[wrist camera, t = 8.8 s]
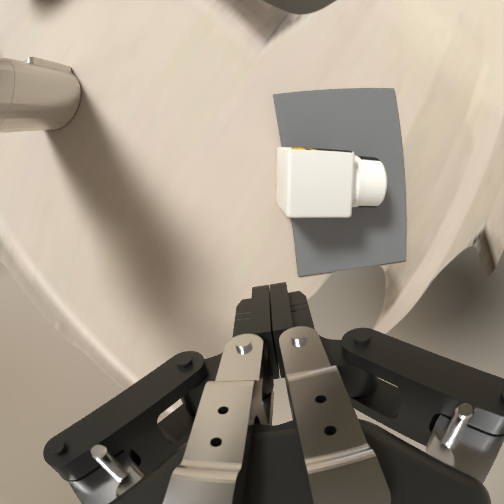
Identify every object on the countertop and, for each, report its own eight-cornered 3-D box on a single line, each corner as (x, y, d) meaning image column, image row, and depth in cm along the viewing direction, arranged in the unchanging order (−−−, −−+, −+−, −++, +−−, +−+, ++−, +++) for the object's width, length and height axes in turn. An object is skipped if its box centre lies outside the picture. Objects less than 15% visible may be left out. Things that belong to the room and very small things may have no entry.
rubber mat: (273, 94, 33) (273, 94, 33) (393, 88, 32) (394, 88, 31) (298, 275, 41) (298, 276, 41) (404, 259, 40) (405, 260, 39)
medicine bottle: (276, 146, 34) (367, 151, 35) (275, 204, 37) (364, 205, 38) (287, 147, 28) (395, 155, 29) (286, 218, 30) (390, 218, 31)
